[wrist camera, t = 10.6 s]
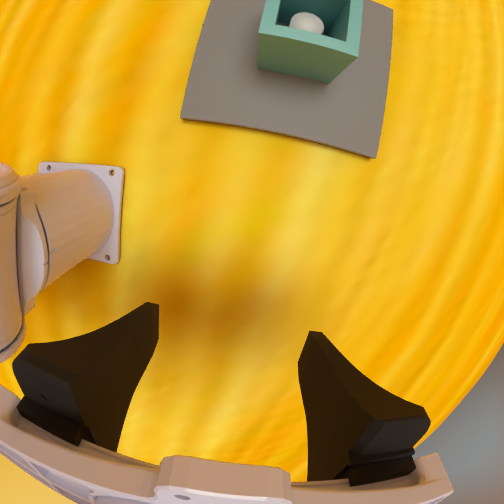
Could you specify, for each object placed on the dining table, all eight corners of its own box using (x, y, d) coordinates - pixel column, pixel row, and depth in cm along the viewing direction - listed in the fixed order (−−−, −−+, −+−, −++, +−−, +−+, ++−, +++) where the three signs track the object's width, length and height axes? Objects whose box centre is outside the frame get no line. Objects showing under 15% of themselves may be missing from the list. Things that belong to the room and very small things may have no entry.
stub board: (183, 119, 18) (164, 109, 14) (223, -25, 13) (217, -55, 9) (370, 158, 19) (398, 160, 14) (388, 13, 14) (411, -7, 10)
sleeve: (257, 68, 16) (258, 32, 10) (269, 13, 14) (274, -31, 8) (328, 84, 16) (357, 57, 10) (337, 29, 14) (363, -9, 9)
